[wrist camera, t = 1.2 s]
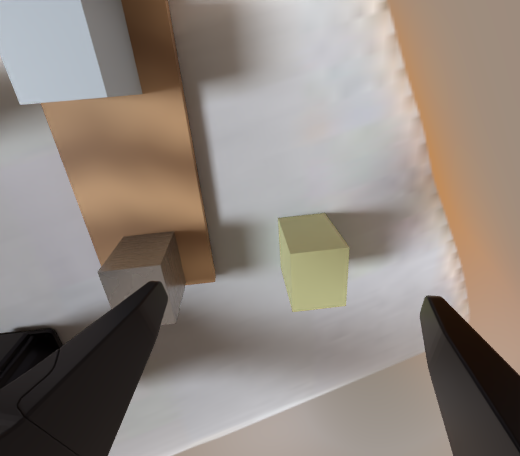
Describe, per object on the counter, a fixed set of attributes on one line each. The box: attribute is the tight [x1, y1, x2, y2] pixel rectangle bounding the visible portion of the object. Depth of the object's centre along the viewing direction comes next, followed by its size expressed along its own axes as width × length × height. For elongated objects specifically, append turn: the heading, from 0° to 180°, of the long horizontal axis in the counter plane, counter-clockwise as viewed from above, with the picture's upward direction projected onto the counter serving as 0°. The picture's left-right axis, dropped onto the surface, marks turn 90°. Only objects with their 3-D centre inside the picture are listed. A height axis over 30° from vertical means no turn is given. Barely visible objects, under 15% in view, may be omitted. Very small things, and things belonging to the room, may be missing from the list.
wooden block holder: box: [41, 0, 216, 285], centre depth 19 cm, size 22×9×7 cm, turn 5°
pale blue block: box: [0, 0, 143, 105], centre depth 15 cm, size 5×4×6 cm
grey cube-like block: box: [98, 231, 186, 325], centre depth 22 cm, size 5×4×5 cm
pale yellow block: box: [278, 213, 349, 312], centre depth 24 cm, size 5×4×6 cm
